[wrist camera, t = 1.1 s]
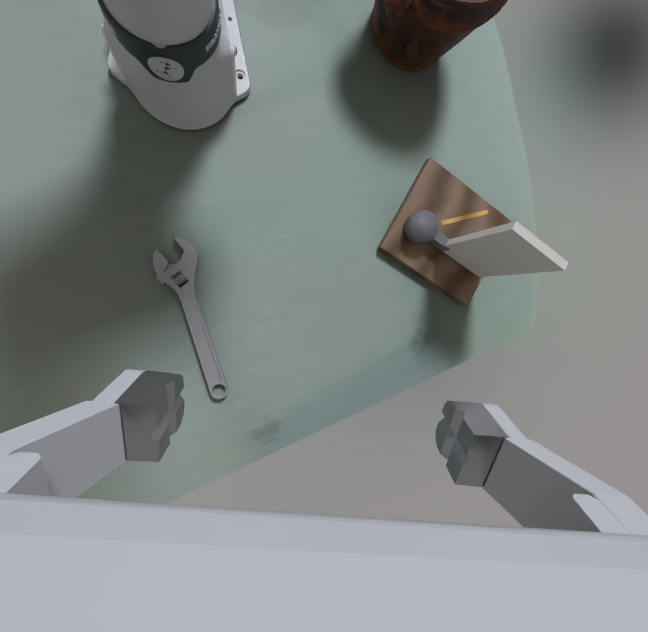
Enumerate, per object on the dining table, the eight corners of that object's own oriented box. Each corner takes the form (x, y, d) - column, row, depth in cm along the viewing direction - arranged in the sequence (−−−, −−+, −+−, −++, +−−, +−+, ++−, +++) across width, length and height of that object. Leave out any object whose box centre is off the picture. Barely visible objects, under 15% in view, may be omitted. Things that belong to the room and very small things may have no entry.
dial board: (377, 248, 55) (381, 246, 53) (425, 160, 56) (430, 156, 55) (462, 305, 60) (468, 305, 58) (505, 223, 61) (512, 221, 59)
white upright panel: (398, 233, 54) (461, 208, 38) (412, 208, 54) (480, 173, 38) (474, 286, 58) (558, 282, 42) (486, 262, 58) (574, 250, 43)
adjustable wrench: (231, 393, 51) (230, 396, 49) (189, 404, 50) (187, 408, 48) (194, 237, 48) (192, 235, 46) (148, 244, 47) (145, 242, 45)
